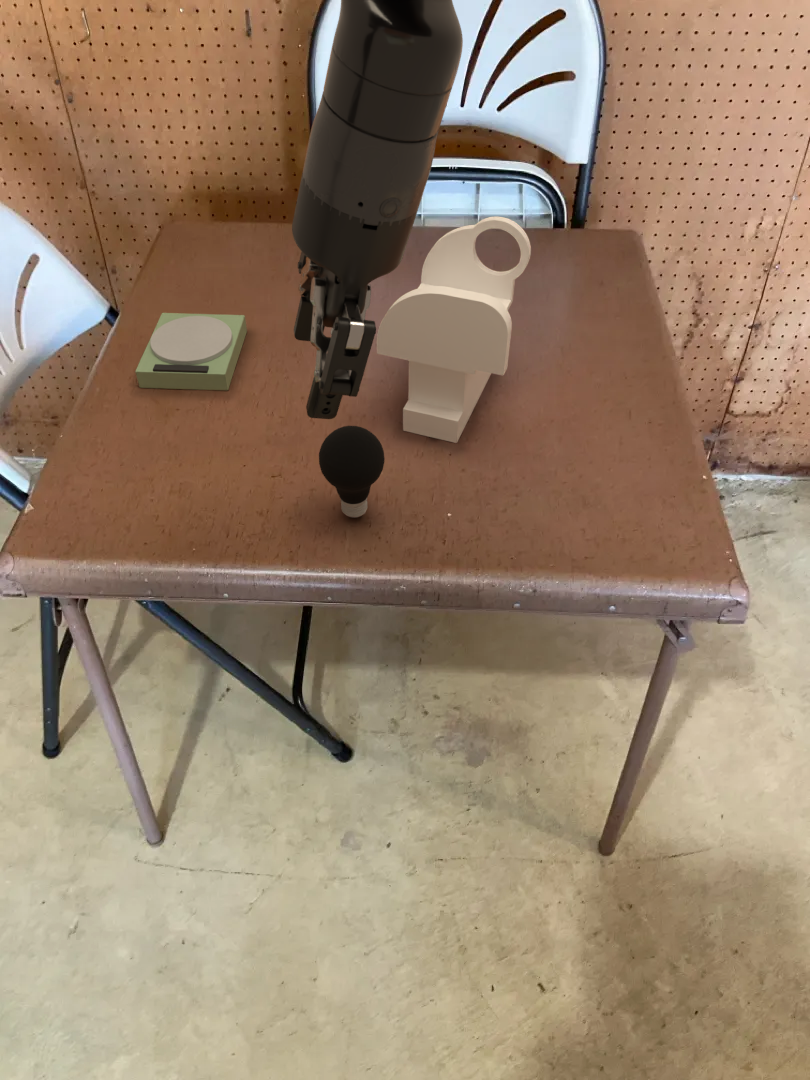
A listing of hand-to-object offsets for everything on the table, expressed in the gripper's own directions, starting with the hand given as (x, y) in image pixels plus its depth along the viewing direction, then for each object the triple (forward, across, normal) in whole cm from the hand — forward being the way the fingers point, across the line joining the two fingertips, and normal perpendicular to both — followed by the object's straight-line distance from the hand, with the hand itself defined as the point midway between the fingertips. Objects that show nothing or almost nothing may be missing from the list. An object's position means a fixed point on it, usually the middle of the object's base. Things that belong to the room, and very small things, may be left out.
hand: (313, 375), depth 64 cm
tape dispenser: (+16, -16, +21) cm, 31 cm away
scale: (+25, -29, -6) cm, 39 cm away
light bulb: (+18, 0, +8) cm, 19 cm away
